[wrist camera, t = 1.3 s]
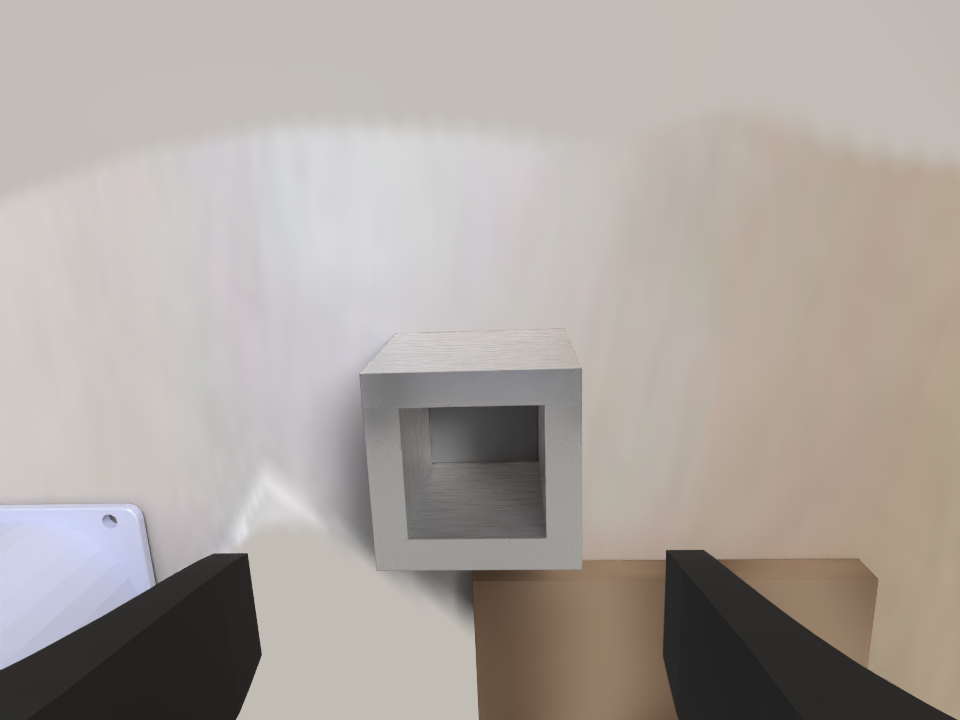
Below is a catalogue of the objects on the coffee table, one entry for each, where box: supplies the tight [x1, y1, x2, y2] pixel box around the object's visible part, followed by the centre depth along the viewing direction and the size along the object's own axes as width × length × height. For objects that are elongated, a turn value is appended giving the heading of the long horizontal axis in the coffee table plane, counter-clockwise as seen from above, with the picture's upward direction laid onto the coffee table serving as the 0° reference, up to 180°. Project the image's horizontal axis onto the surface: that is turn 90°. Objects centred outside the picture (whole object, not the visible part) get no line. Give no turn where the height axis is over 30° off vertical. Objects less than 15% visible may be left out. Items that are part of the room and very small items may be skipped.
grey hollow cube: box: [359, 329, 582, 571], centre depth 18 cm, size 5×5×5 cm
